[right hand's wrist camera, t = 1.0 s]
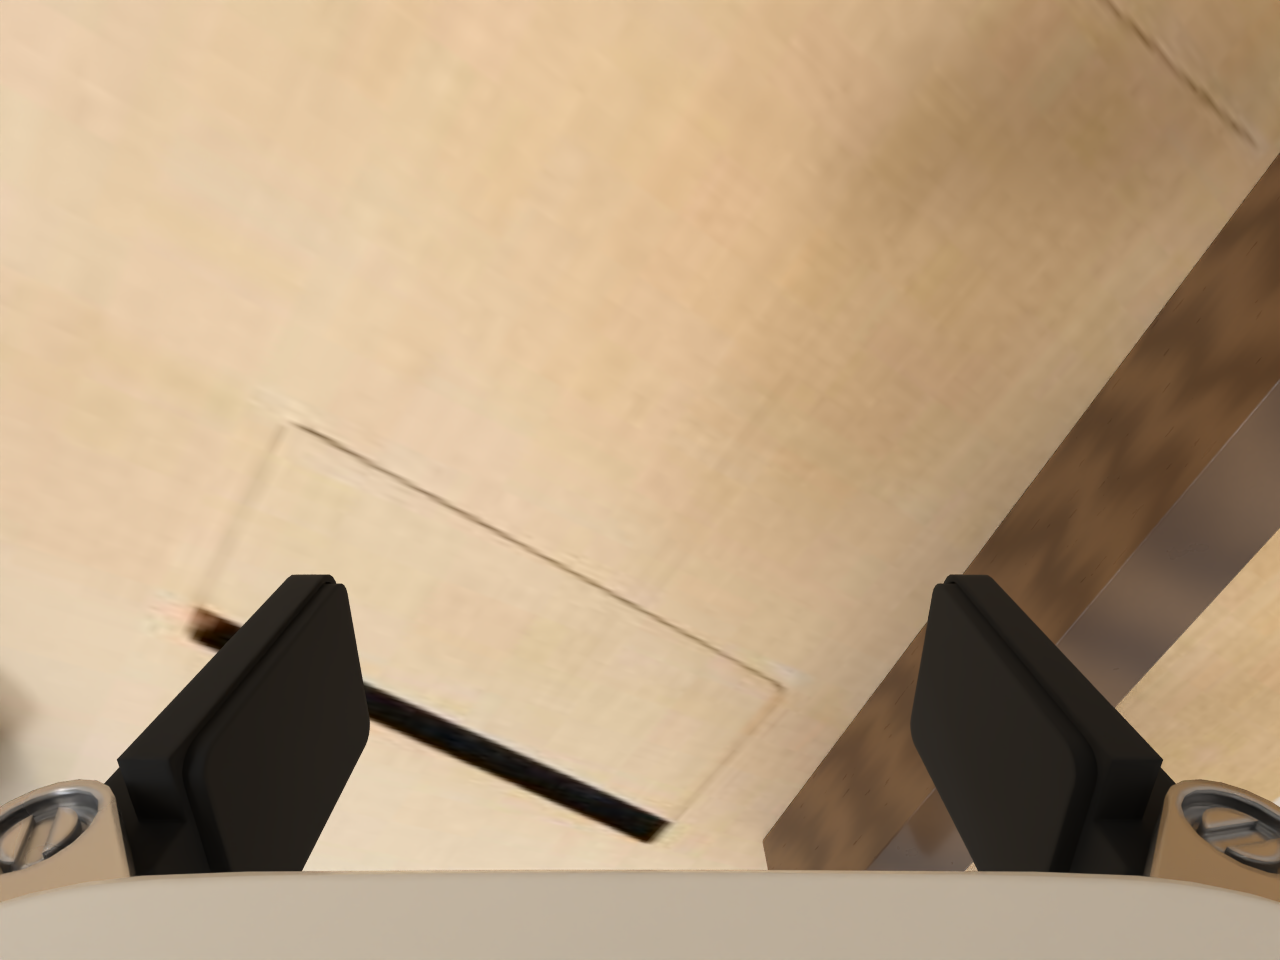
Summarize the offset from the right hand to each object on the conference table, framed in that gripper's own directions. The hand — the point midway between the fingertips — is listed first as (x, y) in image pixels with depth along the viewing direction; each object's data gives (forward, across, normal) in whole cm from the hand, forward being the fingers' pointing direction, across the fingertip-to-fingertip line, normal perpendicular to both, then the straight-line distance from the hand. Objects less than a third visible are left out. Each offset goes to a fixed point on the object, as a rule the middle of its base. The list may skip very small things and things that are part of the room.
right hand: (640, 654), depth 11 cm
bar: (+26, -22, +10) cm, 35 cm away
